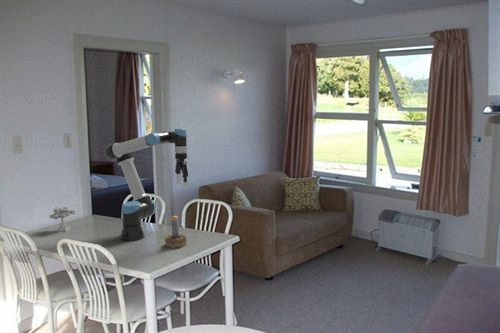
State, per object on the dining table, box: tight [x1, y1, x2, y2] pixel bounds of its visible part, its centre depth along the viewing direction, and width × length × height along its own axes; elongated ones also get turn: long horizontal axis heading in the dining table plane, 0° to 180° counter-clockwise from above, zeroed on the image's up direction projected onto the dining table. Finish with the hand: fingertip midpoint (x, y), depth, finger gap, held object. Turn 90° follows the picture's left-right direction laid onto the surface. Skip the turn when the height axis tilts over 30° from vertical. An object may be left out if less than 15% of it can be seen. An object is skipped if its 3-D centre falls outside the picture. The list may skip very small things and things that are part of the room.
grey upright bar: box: [171, 215, 180, 238], centre depth 300 cm, size 4×4×18 cm
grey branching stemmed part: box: [48, 206, 76, 233], centre depth 338 cm, size 18×16×17 cm
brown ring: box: [164, 234, 187, 249], centre depth 300 cm, size 12×12×5 cm
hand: (181, 185), depth 313 cm, fingers open, 13 cm apart
